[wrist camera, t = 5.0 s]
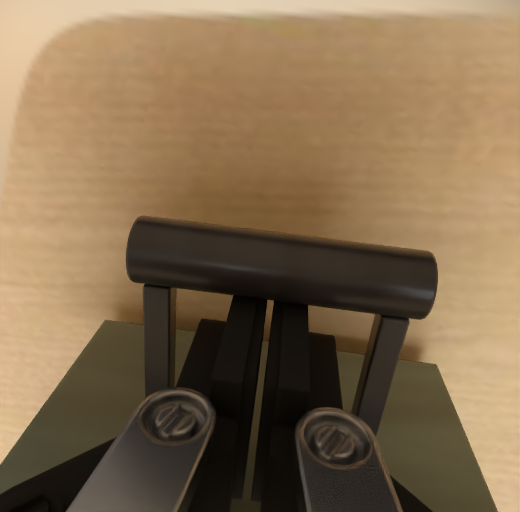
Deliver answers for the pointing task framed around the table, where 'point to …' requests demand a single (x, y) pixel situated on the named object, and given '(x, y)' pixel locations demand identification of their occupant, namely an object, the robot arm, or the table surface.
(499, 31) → the table surface
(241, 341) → the robot arm
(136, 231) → the drawer
